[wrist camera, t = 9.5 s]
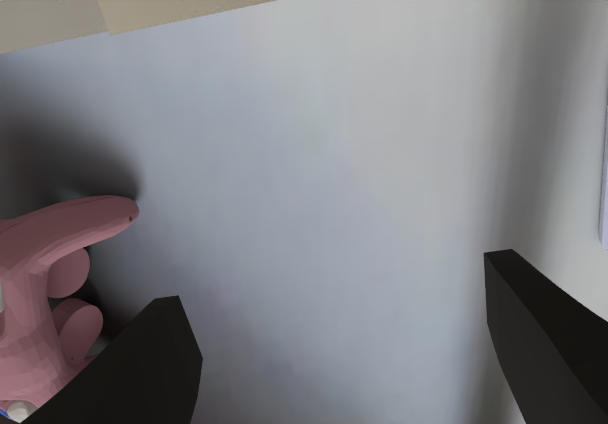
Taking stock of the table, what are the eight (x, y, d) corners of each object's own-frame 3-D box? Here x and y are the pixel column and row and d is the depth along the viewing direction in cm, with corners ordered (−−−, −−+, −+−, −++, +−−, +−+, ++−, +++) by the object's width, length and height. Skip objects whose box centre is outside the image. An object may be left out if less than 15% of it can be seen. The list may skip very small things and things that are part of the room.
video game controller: (68, 167, 24) (-102, 243, 18) (147, 191, 22) (-18, 283, 16) (107, 340, 28) (-19, 439, 23) (175, 372, 26) (54, 488, 21)
